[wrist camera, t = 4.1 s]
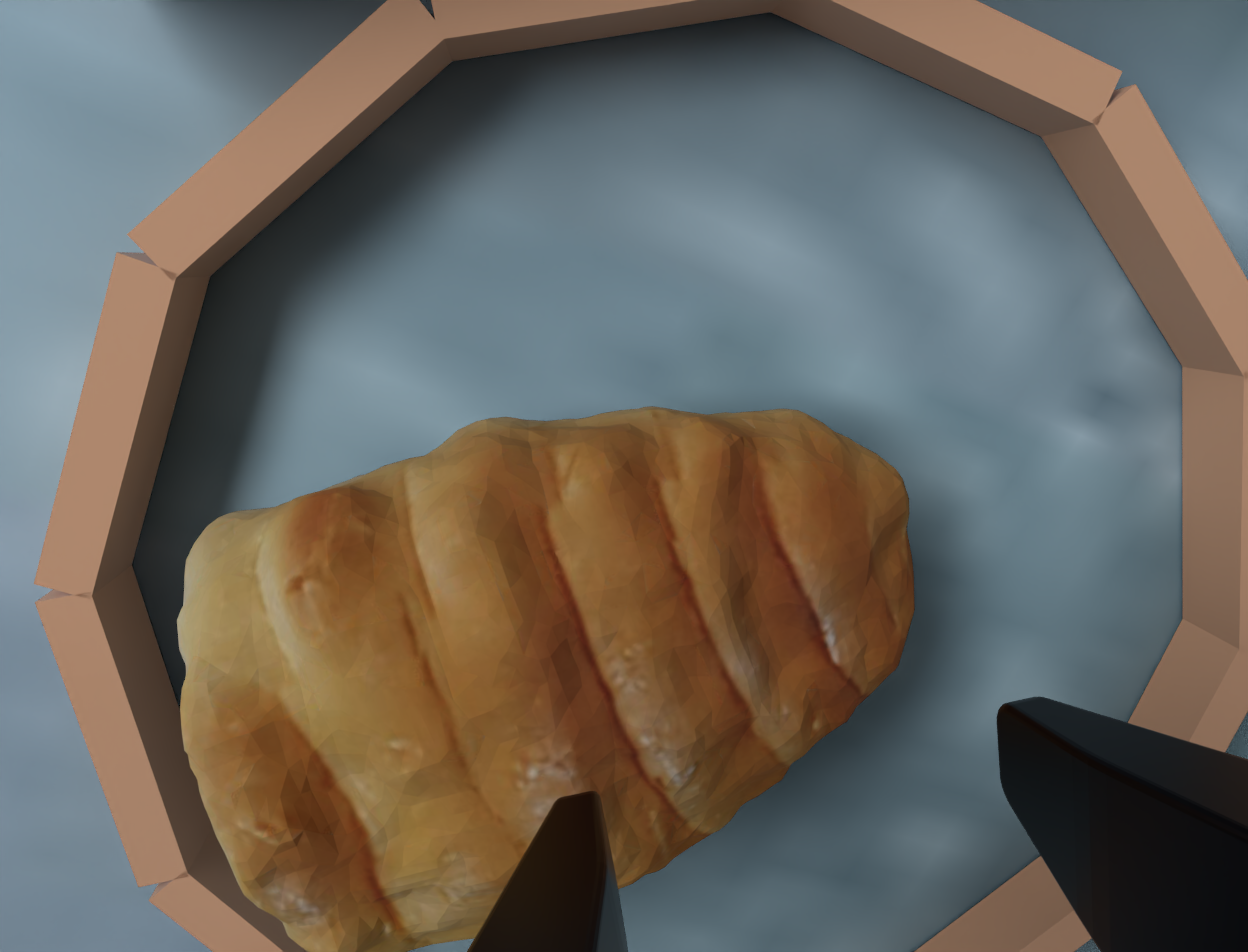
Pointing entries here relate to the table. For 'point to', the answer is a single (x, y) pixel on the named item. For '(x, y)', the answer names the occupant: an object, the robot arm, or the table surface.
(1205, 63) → the table surface
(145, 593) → the table surface
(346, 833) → the pastry
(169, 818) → the socket ring
